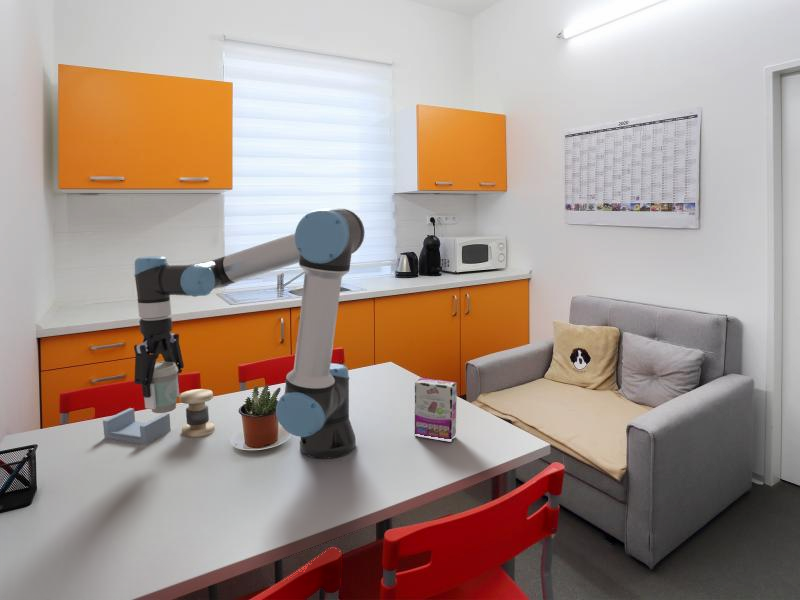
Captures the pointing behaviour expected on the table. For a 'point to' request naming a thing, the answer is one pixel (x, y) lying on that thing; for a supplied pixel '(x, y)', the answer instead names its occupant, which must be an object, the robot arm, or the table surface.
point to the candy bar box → (435, 408)
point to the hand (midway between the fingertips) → (162, 402)
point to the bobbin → (197, 413)
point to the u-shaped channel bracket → (135, 427)
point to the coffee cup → (165, 386)
